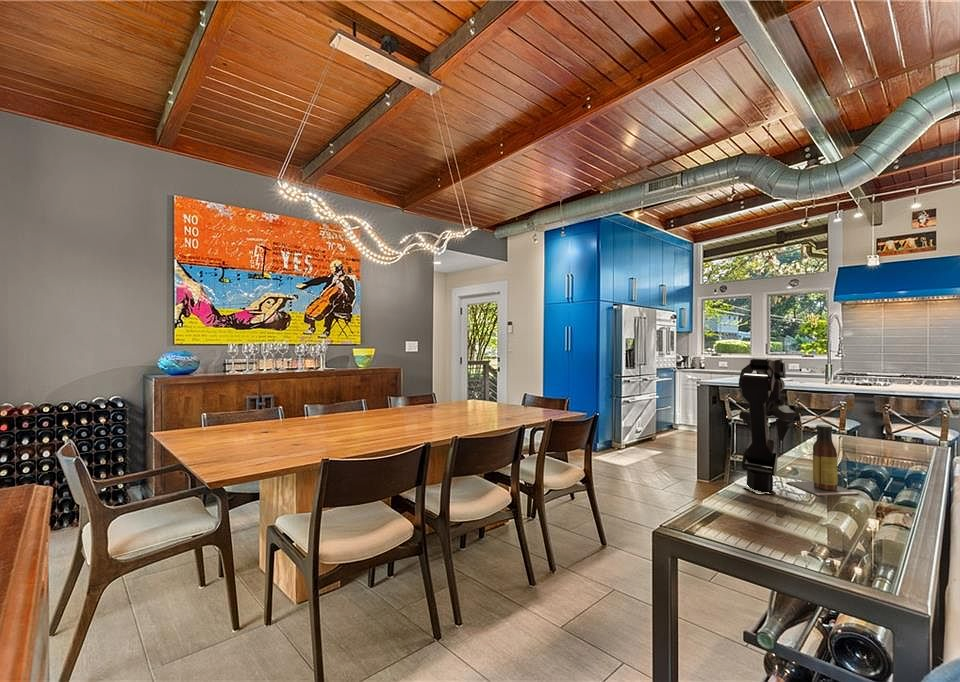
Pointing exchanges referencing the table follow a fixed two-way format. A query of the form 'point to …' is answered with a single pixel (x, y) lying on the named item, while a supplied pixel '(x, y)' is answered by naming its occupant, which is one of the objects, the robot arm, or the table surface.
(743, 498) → the table surface
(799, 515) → the table surface
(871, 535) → the table surface
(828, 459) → the sauce bottle
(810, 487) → the mat
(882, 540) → the table surface
